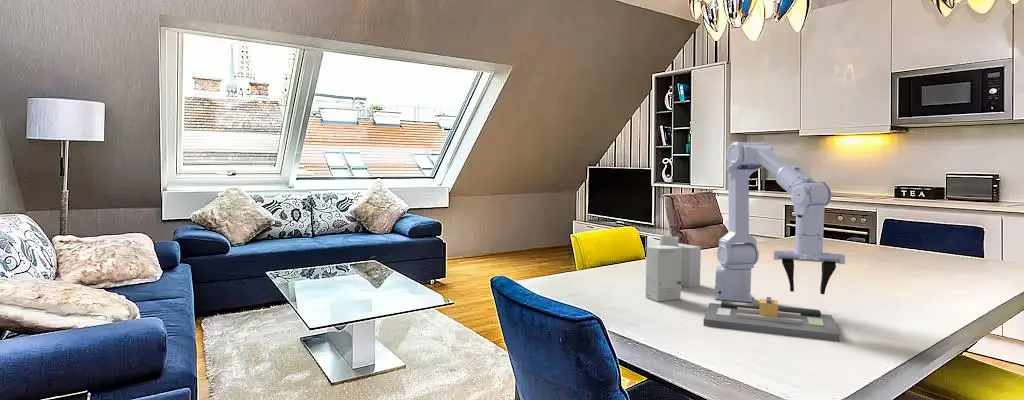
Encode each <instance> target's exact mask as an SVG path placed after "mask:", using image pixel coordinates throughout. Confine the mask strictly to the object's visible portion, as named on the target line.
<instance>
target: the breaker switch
mask: <svg viewBox="0 0 1024 400" xmlns="http://www.w3.org/2000/svg"><path fill="white" fill-rule="evenodd" d="M759 304H760V307H759V315H760V316H769V317H778V306H779V301H778V300H776V299H772V297H771V296H766V299H765V298H759Z"/></svg>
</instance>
